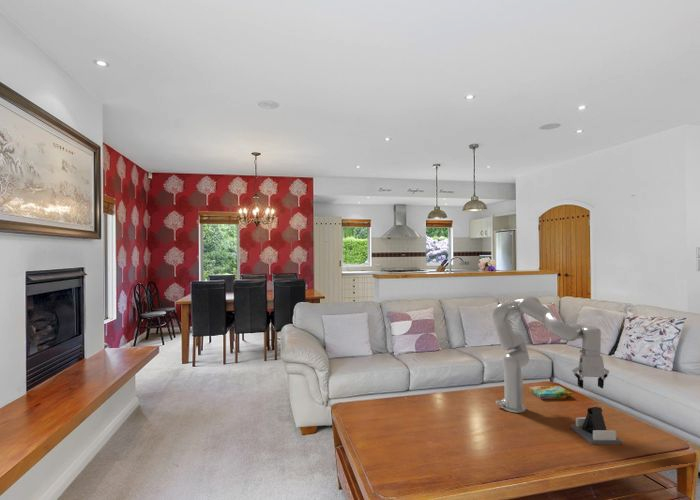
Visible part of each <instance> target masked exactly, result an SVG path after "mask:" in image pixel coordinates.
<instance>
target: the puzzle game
mask: <svg viewBox="0 0 700 500" xmlns="http://www.w3.org/2000/svg"><path fill="white" fill-rule="evenodd" d="M528 389H529V390H530V392H531V394H533V395H534V396H535V397H537V398H538V399H540V400H556V399H557V400H558V399H566V397H570V396H573V392H570V391H569V390H567V389H565V388H563V387H562V386H560V385H546V386H545V385H539V386H529V388H528Z"/></svg>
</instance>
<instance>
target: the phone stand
mask: <svg viewBox="0 0 700 500" xmlns="http://www.w3.org/2000/svg"><path fill="white" fill-rule="evenodd" d="M586 412H587V413H586V416H585V418H586V419H585V421H584V424H583V426H582V429H583V430H585V431H587V432H589V433H591V434H593V430H607V427H606V422H605V419H604V416H603V409H602V408H601V407H600V406H597V405H596V406H592V407H589V408H587V410H586Z"/></svg>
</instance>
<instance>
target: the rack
mask: <svg viewBox="0 0 700 500" xmlns="http://www.w3.org/2000/svg"><path fill="white" fill-rule="evenodd" d="M585 419H586V417H575V424H570V428H571V429H572V430H573V431H574V432H575V433H577V435H579V436H581V438H583V439H584V440H585V441H586V442H588V443H589V444H590V445H622V440H621V439H620V438H618V437H617V431H616V430H614V429H613V430H612V429H611V430H610V429H609V430H593V434H591V433H589V432H587V431H585V430H583V429H582V426H583V424H584V421H585Z"/></svg>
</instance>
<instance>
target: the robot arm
mask: <svg viewBox="0 0 700 500" xmlns="http://www.w3.org/2000/svg"><path fill="white" fill-rule="evenodd" d="M522 314H526V315H528V316H529V317H530V318H533V319H535V320H536V321H538V322H540V323H541V324H542V325H543V326H545V328H546V329H548V330H549V331H550V332H551V333H553V334H554V335H556V336H558V337H560V338H561V339H563V340H565V341H568V342H574V341H577V340H580V339H581V342H582V343H581V349H580V350H579V353H580V356H579V361H578V367H575V368H573V369H572V373H573V375H574V377H576V378H577V386H578V387H579V388H580V389H583V388H584V378H585V377H586V378H597V387H599V388H600V389H604V385H605V383H604V382H605V380H606V378H608V376H609V374H610V370H608V369H606V368H605V365H604V359H603V355H601V342H602V341H601V340H602V339H601V335H602V334H601V333H602V332H601V329H600V328H599V327H596V326H588V325H587V326H586V325H584V324H581V323H572V324H567V323H565V322H563V321H561V320H560V319H559V318H557V317H556V316H555V314H554V312H553V310H552V308H549V307H547V306H545V305H543V304H541V300H539V298H537V297H536V296H533V295H532V296H525V297H522V298H519V299H514V300H510V301H509V300H508V301H503V302H501V303H499V304H497V305H496V306H495V307H494V309H493V311H492V320H493V324H494V326H495V329H496V333H497V337H498V341H499V343H500V347H501V348H502V349H504V350H506V351H510V352H507V353H506V354H505V355H504V356H503V358H502V366H503V367H502V368H503V373H504V375H503V377H504V378H503V380H504V385H503V386H504V387H503V388H504V389H503V390H504V394H503V395H504V397H503V398H502V399H501V400H498V399H497V400H495V405H499V406H501V409H503V410H505V411H507V412H511V413H514V414H515V413H517V414H518V413H519V414H520V413H525V412H526V410H527V407H526V406H525V405H524V403H523V402H524V401H523V400H524V395H523V393H524V389H523V387H524V386H523V385H524V382H523V381H524V380H523V372H522V368H523V367H525V366H527V365H528V364H529V362H530V356H529V352H528V348H527V346H526V345H527V344H526V342H525V338H524V337H523V336H522V334H521V333H520V332H518V331H516V330H513V327H512V323H511V322H510V320H509V319H508V318H510V317H513V316H519V315H522Z"/></svg>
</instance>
